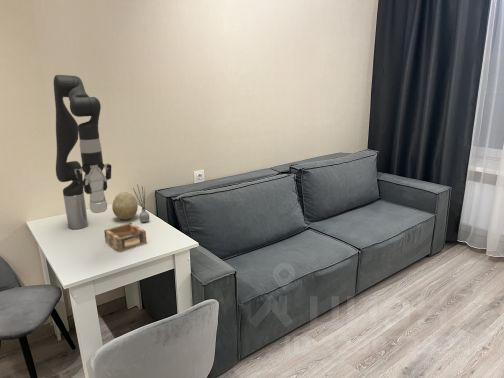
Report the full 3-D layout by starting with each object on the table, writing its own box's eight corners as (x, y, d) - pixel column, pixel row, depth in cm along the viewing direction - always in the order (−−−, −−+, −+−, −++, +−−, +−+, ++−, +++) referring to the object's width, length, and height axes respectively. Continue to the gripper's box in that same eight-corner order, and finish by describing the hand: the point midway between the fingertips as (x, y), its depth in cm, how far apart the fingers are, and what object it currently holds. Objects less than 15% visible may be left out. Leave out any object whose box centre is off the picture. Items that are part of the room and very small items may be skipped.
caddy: (105, 242, 172) (104, 230, 170) (132, 234, 180) (130, 222, 178) (119, 252, 162) (118, 239, 160) (146, 243, 171) (145, 230, 169)
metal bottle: (93, 209, 155) (86, 162, 149) (110, 208, 155) (103, 161, 149) (88, 215, 149) (80, 166, 143) (105, 214, 149) (99, 165, 143)
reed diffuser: (153, 223, 194) (150, 186, 188) (140, 226, 190) (137, 188, 184) (144, 217, 201) (140, 181, 196) (132, 221, 197) (128, 184, 191)
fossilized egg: (108, 222, 195) (105, 195, 191) (122, 214, 207) (119, 188, 203) (131, 224, 192) (128, 196, 188) (143, 215, 204) (140, 189, 200)
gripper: (105, 146, 152) (109, 186, 157) (68, 151, 142) (74, 193, 147) (113, 149, 147) (117, 190, 152) (75, 154, 137) (81, 198, 142)
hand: (96, 191), depth 149 cm, fingers closed on metal bottle, 6 cm apart
